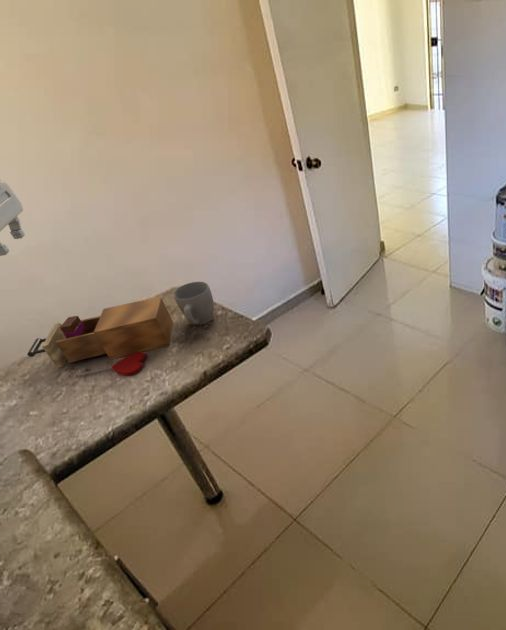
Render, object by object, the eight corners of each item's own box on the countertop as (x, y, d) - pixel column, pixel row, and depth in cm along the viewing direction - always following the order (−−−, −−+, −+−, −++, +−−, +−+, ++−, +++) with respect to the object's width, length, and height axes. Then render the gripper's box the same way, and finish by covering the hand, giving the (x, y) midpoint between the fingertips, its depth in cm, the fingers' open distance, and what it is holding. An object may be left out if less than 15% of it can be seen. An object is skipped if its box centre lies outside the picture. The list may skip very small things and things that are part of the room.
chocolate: (76, 353, 108) (59, 327, 103) (84, 342, 112) (68, 316, 107) (86, 351, 108) (69, 326, 103) (94, 340, 112) (78, 315, 107)
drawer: (35, 373, 104) (18, 351, 100) (48, 349, 112) (32, 328, 108) (114, 354, 108) (101, 332, 105) (122, 332, 116) (110, 311, 112)
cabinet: (110, 359, 108) (93, 332, 103) (118, 335, 117) (103, 308, 112) (169, 345, 112) (155, 318, 107) (173, 322, 120) (160, 296, 115)
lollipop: (70, 388, 100) (140, 373, 103) (68, 385, 99) (139, 370, 102) (82, 366, 106) (148, 352, 109) (80, 363, 106) (147, 349, 109)
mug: (191, 312, 124) (178, 283, 118) (223, 308, 125) (211, 279, 119) (178, 338, 114) (164, 307, 108) (213, 333, 115) (200, 302, 109)
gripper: (-24, 173, 96) (13, 231, 104) (-73, 202, 80) (-25, 268, 88) (9, 168, 98) (43, 226, 106) (-32, 196, 82) (12, 261, 90)
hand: (12, 245), depth 97 cm, fingers open, 8 cm apart
